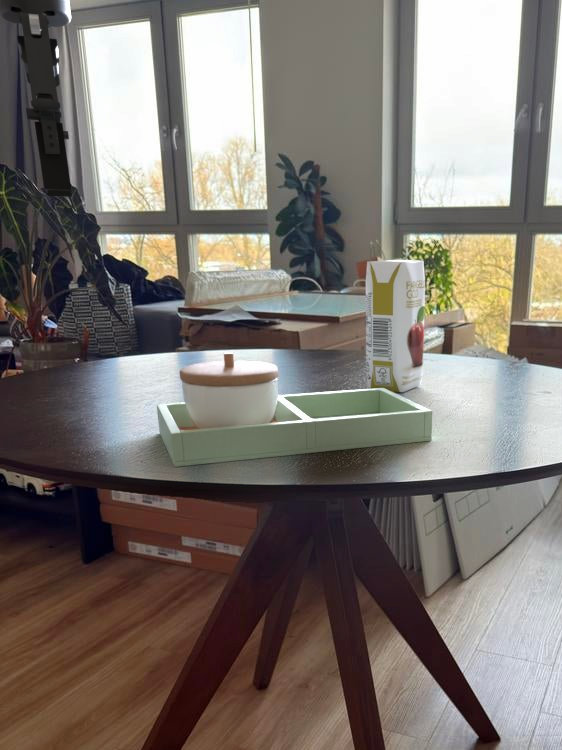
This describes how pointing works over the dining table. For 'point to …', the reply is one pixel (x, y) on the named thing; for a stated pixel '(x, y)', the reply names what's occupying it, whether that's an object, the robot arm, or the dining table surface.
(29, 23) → the robot arm
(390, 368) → the juice carton
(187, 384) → the trinket box
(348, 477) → the dining table surface
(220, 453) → the divided tray
